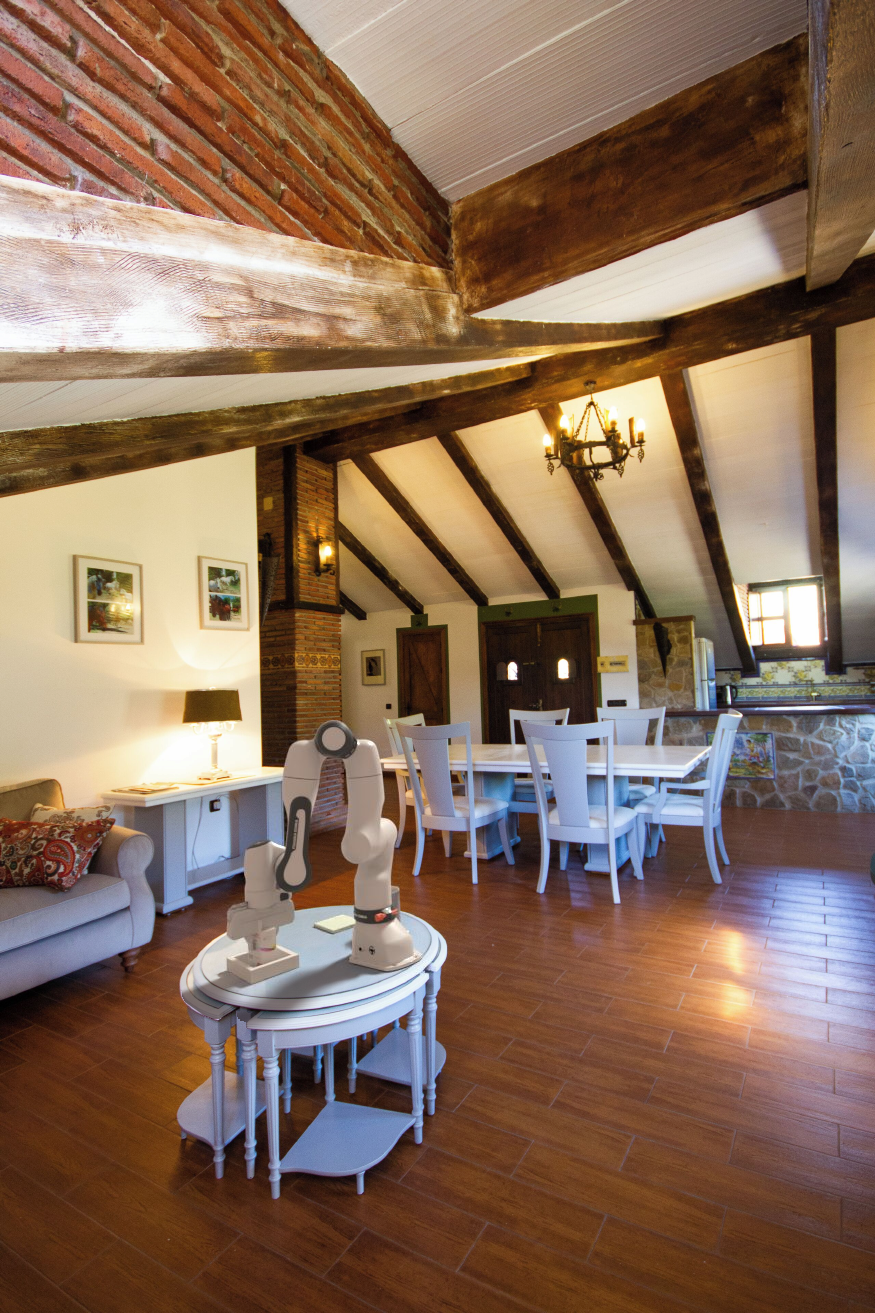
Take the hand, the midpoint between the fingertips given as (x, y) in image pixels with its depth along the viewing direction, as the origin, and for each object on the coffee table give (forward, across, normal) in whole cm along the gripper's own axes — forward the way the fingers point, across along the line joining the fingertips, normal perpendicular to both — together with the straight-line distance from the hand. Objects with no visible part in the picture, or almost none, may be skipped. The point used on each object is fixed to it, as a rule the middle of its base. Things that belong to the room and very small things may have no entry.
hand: (262, 946), depth 189 cm
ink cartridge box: (+6, 0, 0) cm, 6 cm away
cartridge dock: (+6, 0, 0) cm, 6 cm away
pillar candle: (+6, +42, -5) cm, 43 cm away
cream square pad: (+6, +36, +14) cm, 39 cm away
